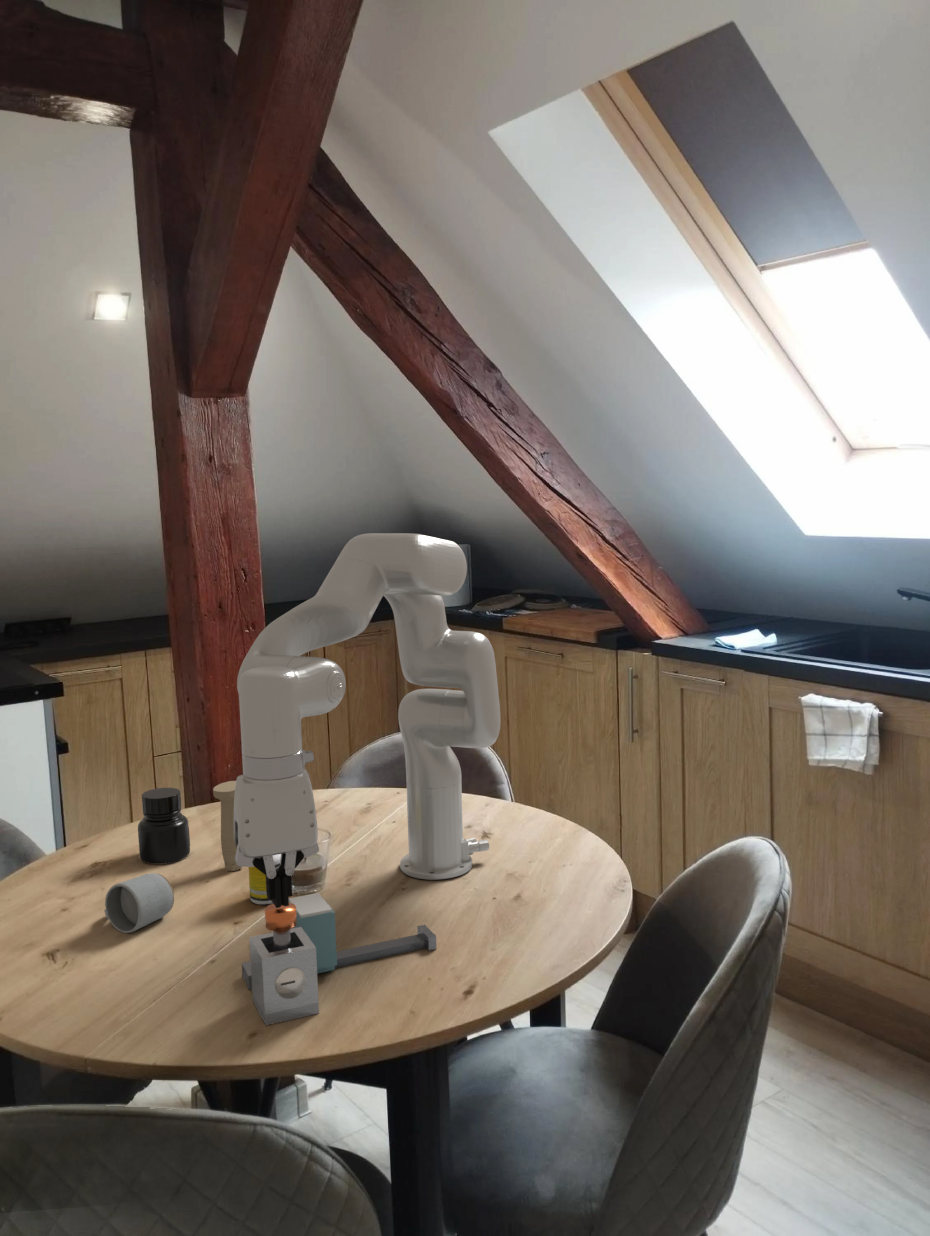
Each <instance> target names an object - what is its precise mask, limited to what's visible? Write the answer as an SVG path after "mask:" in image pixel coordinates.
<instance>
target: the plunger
mask: <svg viewBox="0 0 930 1236" xmlns="http://www.w3.org/2000/svg"><path fill="white" fill-rule="evenodd" d="M264 923H265V928H266V929H267V930H268V931H271V932H273V942H274V952H276V951H281V950H286V949H291V936H290V929H292V928H294V927H295V926H296V925H297V915H296V906H295V905H294V904H292V903H289V906H283V905H282V906H281V907H279V908H276V907H275V905H274V904H268V905H267V906H266V907H265V908H264Z"/></svg>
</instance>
